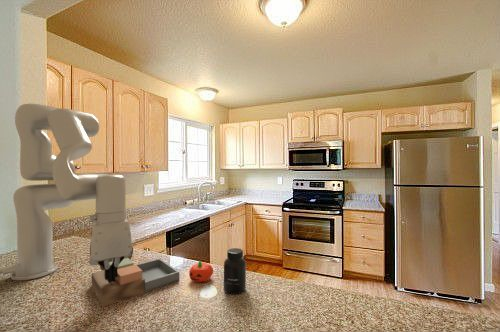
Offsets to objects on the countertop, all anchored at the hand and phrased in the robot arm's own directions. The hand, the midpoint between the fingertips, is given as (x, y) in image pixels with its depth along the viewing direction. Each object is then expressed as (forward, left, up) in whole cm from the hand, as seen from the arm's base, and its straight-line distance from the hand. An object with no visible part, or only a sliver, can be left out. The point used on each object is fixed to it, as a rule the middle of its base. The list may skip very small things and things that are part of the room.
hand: (111, 280), depth 70 cm
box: (+14, +4, -5) cm, 15 cm away
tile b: (+5, +8, -1) cm, 9 cm away
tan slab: (+3, +4, -5) cm, 7 cm away
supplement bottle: (+29, -21, -5) cm, 36 cm away
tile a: (+5, 0, -1) cm, 5 cm away
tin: (+7, +23, -5) cm, 25 cm away
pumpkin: (+25, -8, -5) cm, 27 cm away
